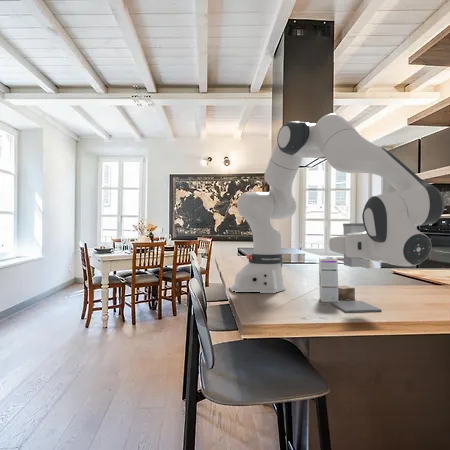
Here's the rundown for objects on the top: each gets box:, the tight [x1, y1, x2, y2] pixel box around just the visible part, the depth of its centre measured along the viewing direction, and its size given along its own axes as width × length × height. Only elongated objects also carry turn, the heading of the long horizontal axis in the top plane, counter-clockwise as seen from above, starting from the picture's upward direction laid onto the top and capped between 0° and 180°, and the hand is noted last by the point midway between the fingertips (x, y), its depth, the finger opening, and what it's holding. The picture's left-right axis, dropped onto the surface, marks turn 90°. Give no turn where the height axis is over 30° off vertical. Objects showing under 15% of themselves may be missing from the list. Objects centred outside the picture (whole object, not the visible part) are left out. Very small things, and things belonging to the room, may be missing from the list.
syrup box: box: [318, 256, 339, 303], centre depth 110 cm, size 6×6×14 cm
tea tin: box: [342, 222, 368, 268], centre depth 100 cm, size 5×5×13 cm
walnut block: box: [338, 284, 356, 301], centre depth 114 cm, size 5×5×4 cm
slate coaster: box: [329, 300, 382, 314], centre depth 100 cm, size 11×11×1 cm
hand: (352, 242), depth 101 cm, fingers closed on tea tin, 5 cm apart
